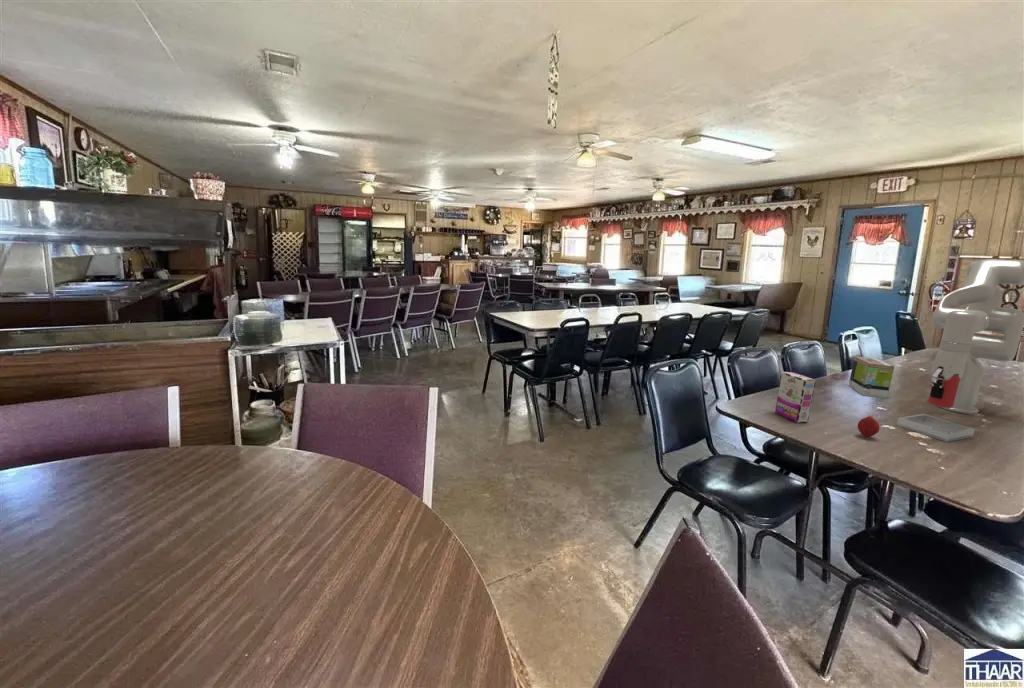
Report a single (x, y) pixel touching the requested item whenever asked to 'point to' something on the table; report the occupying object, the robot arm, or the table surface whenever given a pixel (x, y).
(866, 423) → the onion
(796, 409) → the candy bar box
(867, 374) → the tea box
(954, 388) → the beer can
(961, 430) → the rimmed tray
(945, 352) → the robot arm
